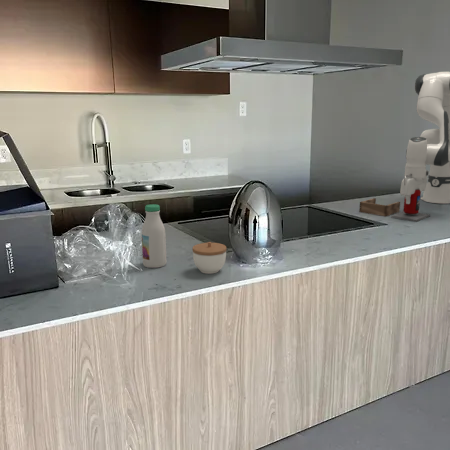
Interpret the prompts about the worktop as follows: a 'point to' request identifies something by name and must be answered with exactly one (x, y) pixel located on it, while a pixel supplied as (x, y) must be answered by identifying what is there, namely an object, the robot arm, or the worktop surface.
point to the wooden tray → (378, 208)
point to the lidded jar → (209, 257)
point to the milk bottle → (153, 238)
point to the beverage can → (413, 203)
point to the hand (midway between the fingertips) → (412, 202)
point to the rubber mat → (410, 216)
